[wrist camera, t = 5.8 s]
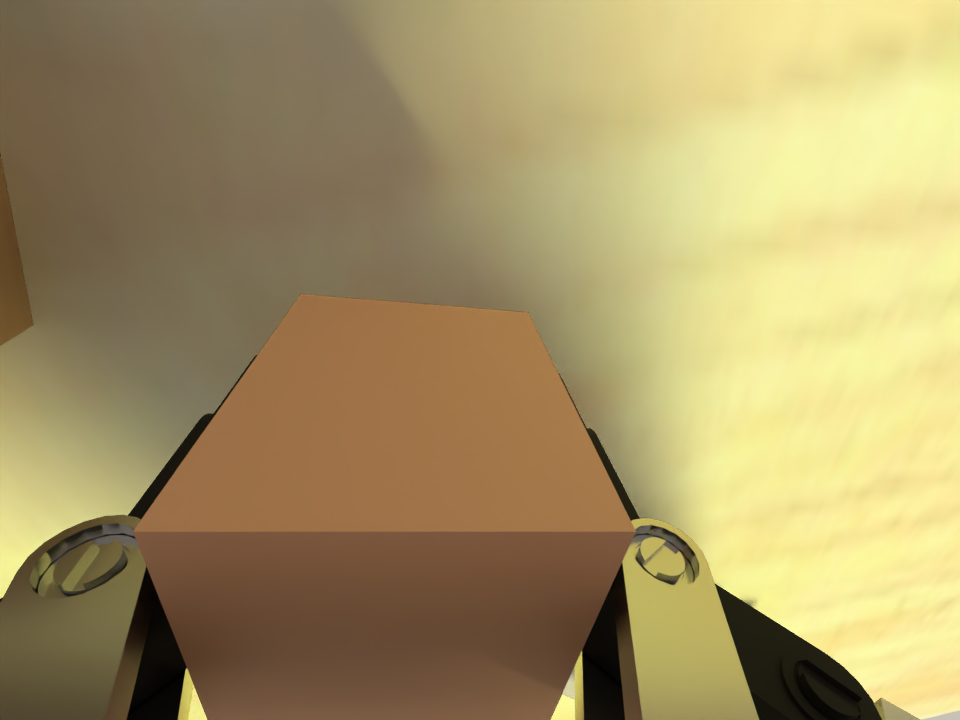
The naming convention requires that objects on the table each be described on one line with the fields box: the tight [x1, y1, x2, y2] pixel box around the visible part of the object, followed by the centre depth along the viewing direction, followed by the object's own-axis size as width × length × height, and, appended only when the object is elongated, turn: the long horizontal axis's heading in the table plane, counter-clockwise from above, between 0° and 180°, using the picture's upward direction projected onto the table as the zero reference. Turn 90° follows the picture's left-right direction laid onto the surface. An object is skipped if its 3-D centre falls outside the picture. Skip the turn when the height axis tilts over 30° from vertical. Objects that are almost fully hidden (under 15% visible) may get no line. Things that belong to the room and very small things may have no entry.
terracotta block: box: [133, 294, 636, 720], centre depth 8 cm, size 5×5×6 cm
